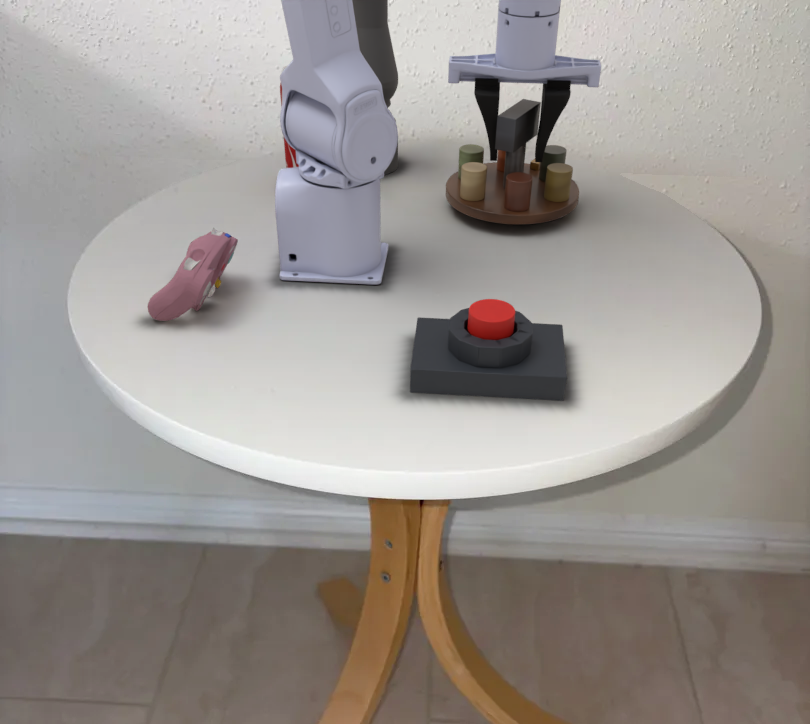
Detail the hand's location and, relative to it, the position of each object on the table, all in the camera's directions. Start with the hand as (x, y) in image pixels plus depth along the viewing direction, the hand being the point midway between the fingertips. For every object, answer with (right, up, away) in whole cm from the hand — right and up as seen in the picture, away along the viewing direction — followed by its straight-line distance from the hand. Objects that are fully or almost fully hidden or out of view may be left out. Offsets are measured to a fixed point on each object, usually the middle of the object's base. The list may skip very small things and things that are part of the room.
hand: (516, 158), depth 94 cm
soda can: (-22, 0, +8) cm, 23 cm away
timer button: (-5, -23, -22) cm, 32 cm away
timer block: (-5, -26, -20) cm, 33 cm away
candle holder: (-15, +4, +12) cm, 20 cm away
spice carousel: (0, -3, +3) cm, 4 cm away
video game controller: (-30, -18, -12) cm, 37 cm away
